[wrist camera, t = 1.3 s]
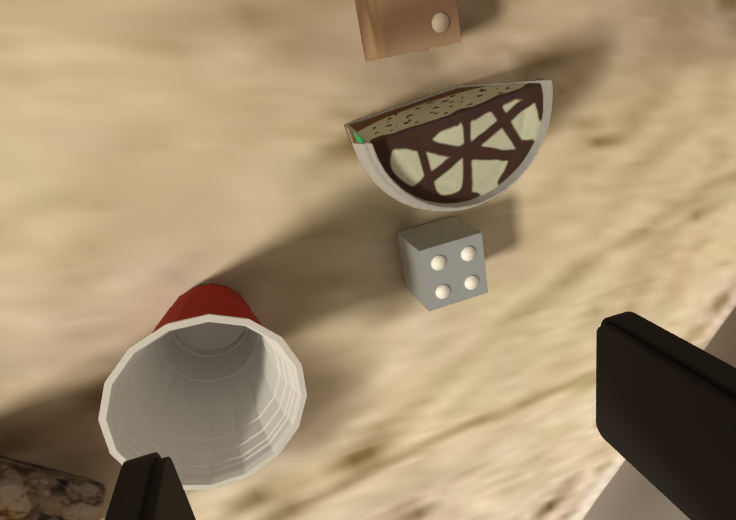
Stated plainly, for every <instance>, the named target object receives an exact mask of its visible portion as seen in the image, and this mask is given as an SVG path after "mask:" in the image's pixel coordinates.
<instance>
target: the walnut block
mask: <svg viewBox="0 0 736 520" xmlns="http://www.w3.org/2000/svg"><path fill="white" fill-rule="evenodd" d="M355 5H356V10H357V16H358V22H359V27H360V33H361V38H362V44H363V50H364V55H365V61H368V60H374V59H380V58H386V57H391V56H396V55H401V54H405V53H410V52H415V51H420V50H425V49H429V48H434V47H439V46H444V45H449V44H453V43H458V42H461V34H460V25H459V15H458V5H457V0H355Z"/></svg>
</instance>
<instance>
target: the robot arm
mask: <svg viewBox="0 0 736 520" xmlns="http://www.w3.org/2000/svg"><path fill="white" fill-rule="evenodd" d="M596 425H597V428H598V430H599V432H600V434H601V436H602V437H603V438H604V439H605V440H606V441H607V442H608V443H609V444H610V445H611V446H612V447H613V448H614V449H615V450H617V451H618V452H619V453H620V454H621V455H622V456H623V457H624V458H625V459H626V460H627V461H628V462H629V463H631V464H632V465H633V466H634V467H635V468H636V469H637V470H638V471H639V472H640V473H641V474H642V475H643V476H645V478H647V479H648V480H649V481H650V482H651V483H652V484H653V485H654V486H655V487H656V488H657V489H658V490H659V491H660V492H662V493H663V494H664V495H665V496H666V497H667V498H668V499H669V500H670V501H671V502H672V503H673V504H674V505H676V506H677V507H678V508H679V509H680V510H681V511H682V512H683V513H684V514H685V515H686V516H687V517H688V518H690V520H736V368H734V367H733V366H731V365H729V364H727V363H725V362H724V361H722V360H720V359H718V358H716V357H714V356H713V355H711V354H709V353H707V352H705V351H703V350H702V349H700V348H698V347H696V346H694V345H692V344H691V343H689V342H687V341H685V340H683V339H681V338H679V337H678V336H676V335H674V334H672V333H670V332H668V331H667V330H665V329H663V328H661V327H659V326H657V325H656V324H654V323H652V322H650V321H648V320H646V319H645V318H643V317H641V316H639V315H637V314H635V313H633V312H624V313H621V314H617V315H614V316H611V317H607V318H605V319H604V320H603V321H602V323H601V326H600V327H599V328H598V330H597V355H596ZM105 520H196V519H195V517H194V514H193V511H192V509H191V506H190V504H189V501H188V499H187V496H186V494H185V491H184V489H183V486H182V484H181V481H180V479H179V476H178V474H177V471H176V469H175V466H174V463H173V461H172V459H171V458H170V457H164V458H161V456H160V455H159V454H158V453H157V452H154V453H150V454H147V455H144V456H140V457H137V458H134V459H130V460H127V461H125V462H124V463H123V465H122V467H121V470H120V473H119V477H118V480H117V483H116V486H115V489H114V492H113V496H112V499H111V502H110V505H109V508H108V511H107V515H106V518H105Z"/></svg>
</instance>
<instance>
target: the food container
mask: <svg viewBox="0 0 736 520" xmlns="http://www.w3.org/2000/svg"><path fill="white" fill-rule="evenodd" d="M536 79H537V80H532V81H516V82H501V83H485V84H470V85H458V86H455V87H452V88H449V89H446V90H443V91H440V92H438V93H435V94H432V95H429V96H426V97H423V98H420V99H417V100H414V101H412V102H409V103H406V104H403V105H400V106H397V107H394V108H391V109H388V110H385V111H383V112H380V113H377V114H374V115H371V116H368V117H365V118H362V119H359V120H356V121H354V122H351V123H348V124H345V125H344V126H345V129H346V131H347V134H348V136H349V139H350V141H351V142H352V144H353V147H354V149H355V152H356V155H357V157H358V159H359V161H360V163H361V164H362V166H363V168H364V169H365V171H366V173H367V174H368V175H369V176H370V178H371V179H372V180H373V181H374V182H375V184H376V185H377V186H378V187H380V188H381V189H382V190H383V191H384V192H385V193H386V194H388V195H389V196H391V197H392V198H394V199H396V200H397V201H399V202H401V203H403V204H406V205H408V206H411V207H414V208H418V209H423V210H429V211H458V210H465V209H468V208H472V207H475V206H478V205H480V204H483V203H485V202H487V201H489V200H491V199H493V198H495V197H497V196H498V195H500V194H501V193H503V192H504V191H506V190H507V189H508V188H509V187H511V186H512V185H513V184H514V183H515V182H516V181H517V180H518V179H519V178H520V177H521V176H522V175H523V174H524V172H525V171H526V170H527V169H528V168H529V166H530V164H531V163H532V161H533V160H534V158H535V157H536V155H537V153H538V151H539V149H540V147H541V145H542V143H543V141H544V138H545V135H546V132H547V129H548V126H549V121H550V116H551V111H552V100H553V86H552V80H549V78H540V77H538V78H536Z"/></svg>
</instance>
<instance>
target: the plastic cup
mask: <svg viewBox="0 0 736 520" xmlns="http://www.w3.org/2000/svg"><path fill="white" fill-rule="evenodd" d="M306 398H307V391H306V386H305V380H304V375H303V369H302V364H301V362H300V361H299V360H298V358H297V357H296V356H295V354H294V353H293V352H292V350H291V349H290V347H289V346H288V345H287V343H286V342H285V341H284V339H283V338H282V337H281V336H279V335H277V334H275V333H273V332H272V331H270V330H268V329H266V328H264V327H263V326H262V325H261V324H260V322H259V321H258V319H257V318H256V316H255V315H254V314H253V312H252V311H251V309H250V307H249V306H248V305H247V303H246V302H245V301H244V299H243V298H242V297H241V295H239V294H238V293H236V292H234V291H233V290H231V289H229V288H228V287H226V286H220V285H214V284H208V285H202V286H197V287H194V288H192V289H191V290H189V291H188V292H186V293H184V294H183V295H181V296H179V298H178V299H177V300H176V302H175V303H174V304H173V306H172V307H170V309H169V310H168V311H167V313H166V314H165V315H164V317H163V318H162V320H161V321H160V322H159V324H158V325H157V327H156V328H155V329H154V331H153V332H152V333H151V334H150V335H148V336H147V337H145V338H144V339H142V340H141V341H139V342H137V343H136V344H134V345H133V346H131V347H130V348H129V349H128V350H127V352H126V353H125V354H124V356H123V357H122V359H121V360H120V362H119V363H118V364H117V366H116V367H115V369H114V370H113V371H112V373H111V374H110V376H109V377H108V378H107V380H106V381H105V383H104V389H103V395H102V401H101V406H100V412H99V418H98V421H99V424H100V427H101V430H102V432H103V435H104V438H105V441H106V444H107V447H108V450H109V452H110V454H111V455H112V456H113V457H114V458H115V459H116V460H117V461H118V462H120V463H121V464H122V465H123V463H124V462H125V461H127V460H130V459H134V458H137V457H140V456H144V455H147V454H150V453H154V452H157V453H158V454H159V455H160V456H161V458H164V457H170V458H171V459H172V461H173V463H174V466H175V469H176V471H177V474H178V476H179V479H180V481H181V484H182V486H183V489H184V490H212V489H215V488H218V487H221V486H224V485H227V484H230V483H233V482H236V481H239V480H242V479H245V478H248V477H249V476H251V475H252V474H253V473H255V472H256V471H258V470H259V469H260V468H262V467H263V466H265V465H266V464H267V463H269V462H270V461H271V460H273V459H274V458H276V457H277V456H278V455H279V454H280V453H281V451H282V450H283V448H284V447H285V446H286V444H287V443H288V442H289V440H290V439H291V437H292V436H293V435H294V433H295V432H296V430H297V429H298V428H299V425H300V421H301V417H302V413H303V410H304V406H305V402H306Z"/></svg>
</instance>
